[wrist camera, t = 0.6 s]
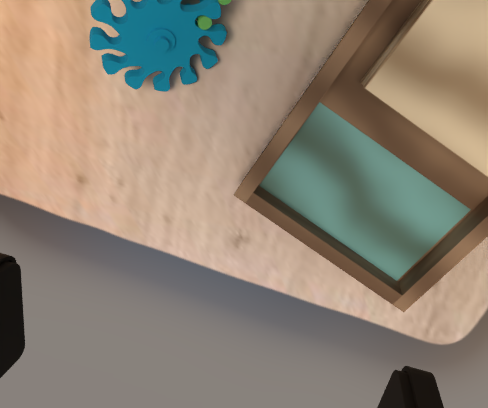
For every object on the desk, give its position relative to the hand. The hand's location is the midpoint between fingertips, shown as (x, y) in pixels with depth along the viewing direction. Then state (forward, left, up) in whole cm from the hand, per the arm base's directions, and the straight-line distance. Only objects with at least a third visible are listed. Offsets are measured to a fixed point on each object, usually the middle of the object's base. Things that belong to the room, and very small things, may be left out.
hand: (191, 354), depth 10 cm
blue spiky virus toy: (-1, -12, -28) cm, 30 cm away
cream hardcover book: (-10, +8, -26) cm, 29 cm away
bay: (-4, +8, -27) cm, 29 cm away
